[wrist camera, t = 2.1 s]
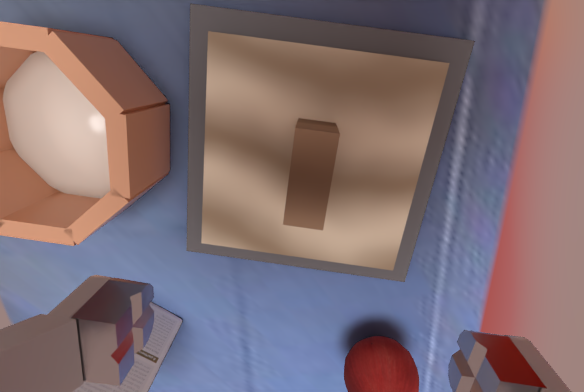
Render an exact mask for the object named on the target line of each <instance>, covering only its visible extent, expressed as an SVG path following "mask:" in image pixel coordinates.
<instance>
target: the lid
mask: <svg viewBox="0 0 584 392" xmlns="http://www.w3.org/2000/svg"><path fill="white" fill-rule="evenodd" d="M449 64H450V63H444V62H437V61H429V60H422V59H414V58H407V57H399V56H392V55H384V54H377V53H369V52H362V51H354V50H346V49H339V48H331V47H324V46H316V45H309V44H301V43H294V42H286V41H279V40H271V39H264V38H256V37H249V36H241V35H234V34H226V33H218V32H211V31H208V51H207V82H206V113H205V145H204V176H203V207H202V239H201V243H204V244H211V245H218V246H225V247H232V248H239V249H246V250H253V251H260V252H267V253H274V254H281V255H288V256H295V257H302V258H309V259H316V260H323V261H330V262H337V263H344V264H351V265H358V266H365V267H372V268H379V269H386V270H393V269H394V265H395V262H396V258H397V254H398V251H399V247H400V243H401V240H402V236H403V232H404V229H405V225H406V221H407V218H408V214H409V210H410V207H411V203H412V199H413V196H414V192H415V188H416V185H417V181H418V177H419V174H420V170H421V166H422V163H423V159H424V155H425V152H426V148H427V144H428V141H429V137H430V133H431V130H432V126H433V122H434V119H435V115H436V111H437V108H438V104H439V100H440V97H441V93H442V89H443V86H444V82H445V78H446V75H447V71H448V67H449Z"/></svg>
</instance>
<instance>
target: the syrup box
mask: <svg viewBox="0 0 584 392" xmlns="http://www.w3.org/2000/svg"><path fill="white" fill-rule="evenodd" d="M149 305H150V306H151V308H152V309H153V310H154V324H153V329H152V332H151V335H150V338H149V340H148V342H147V343H146V345H145V347H144V348H143V349H142V350H140V351H139V352H137V353H135V354H134V364H133V366H132V368H131V369H130V371H129V372H128V374H127V376H126V377H125V379H124V380H123V382H122V384H121V385H120V386H116V385H108V384H99V383H91V382H84V384H83V385H81V386H80V387H78V388H77V389H75V390H74V391H73V392H148V391H149V389H150V387H151V385H152V383H153V380H154V378H155V376H156V374H157V372H158V370H159V368H160V366H161V364H162V362H163V360H164V358H165V356H166V354H167V352H168V350H169V348H170V347H171V344H172V342H173V340H174V338H175V336H176V334H177V332H178V330H179V328H180V326H181V324H182V319H180V318H179V317H177V316H175V315H174V314H172V313H170V312H169V311H167V310H165V309H163V308H161V307H159V306H158V305H155V304H154V303H152V302H150V304H149Z"/></svg>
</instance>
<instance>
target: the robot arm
mask: <svg viewBox="0 0 584 392" xmlns="http://www.w3.org/2000/svg"><path fill="white" fill-rule="evenodd" d="M153 298H154V291H153V286H152V285H151V284H148V283H142V282H136V281H130V280H124V279H119V278H111V277H105V276H99V275H94V276H90V277H89V278H88V279H87V280H85V281H84V282H83V283H82V284H81V285H80V286H79V287H78V288H77V289H75V290H74V291H73V292H72V293H71V294H70V295H69V296H68V297H66V298H65V299H64V300H63V301H62V302H61V303H60V304H59V305H58V306H56V307H55V308H54V309H53V310H52V311H51V312H50V313H49V314H48V315H44V314H40V315H37V316H34V317H32V318H29V319H27V320H24V321H21V322H19V323H16V324H14V325H11V326H8V327H6V328H3V329H1V330H0V392H73V391H74V390H75V389H77V388H78V387H80V386H81V385H83V384H84V382H91V383H99V384H108V385H116V386H120V385H121V384H122V382H123V380H124V379H125V377H126V376H127V374H128V372H129V371H130V369H131V368H132V366H133V364H134V354H135V353H137V352H139V351H140V350H142V349H143V348H144V347H145V345H146V343H147V342H148V340H149V338H150V335H151V332H152V329H153V324H154V310H153V309H152V308H151V306H150V305H149V304H150V302H151V301H152V300H153ZM457 343H458V345H459V347H460V350H459V351H457V352H456V353H454V354H453V355H452V356H451V360H450V363H449V370H448V377H449V382H450V386H451V388H452V391H453V392H571V391H570V389H569V388H568V387H567V386H566V384H565V383H564V382H563V381H562V380H561V378H560V377H559V376H558V375H557V373H556V372H555V371H554V370H553V368H552V367H551V366H550V365H549V364H548V362H547V361H546V360H545V359H544V358H543V356H542V355H541V354H540V353H539V351H538V350H537V349H536V347H535V346H534V345H533V344H532V343H531V341H529V340H528V339H526V338H524V337H517V336H508V335H497V334H490V333H482V332H475V331H468V330H464V331H463V332H462V333H461V334H460V335H459V338H458V341H457Z"/></svg>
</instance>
